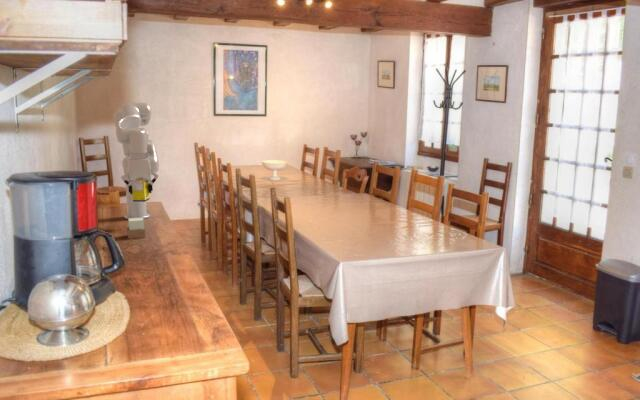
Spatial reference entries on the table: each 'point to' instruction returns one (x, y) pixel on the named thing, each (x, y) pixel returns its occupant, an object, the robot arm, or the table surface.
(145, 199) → the supplement box
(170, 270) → the table surface
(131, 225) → the cream square block
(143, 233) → the walnut slab
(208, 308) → the table surface
